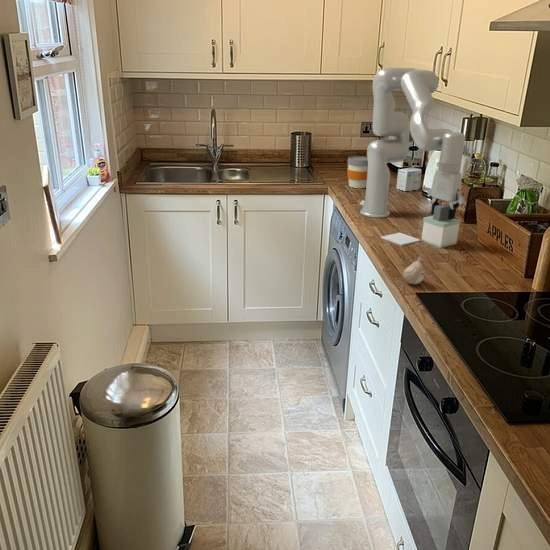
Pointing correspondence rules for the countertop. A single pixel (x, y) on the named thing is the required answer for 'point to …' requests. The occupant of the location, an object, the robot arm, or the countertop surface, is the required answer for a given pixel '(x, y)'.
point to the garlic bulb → (414, 272)
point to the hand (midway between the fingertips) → (442, 216)
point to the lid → (441, 216)
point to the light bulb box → (408, 179)
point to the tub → (439, 235)
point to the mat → (400, 239)
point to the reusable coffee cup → (357, 171)
